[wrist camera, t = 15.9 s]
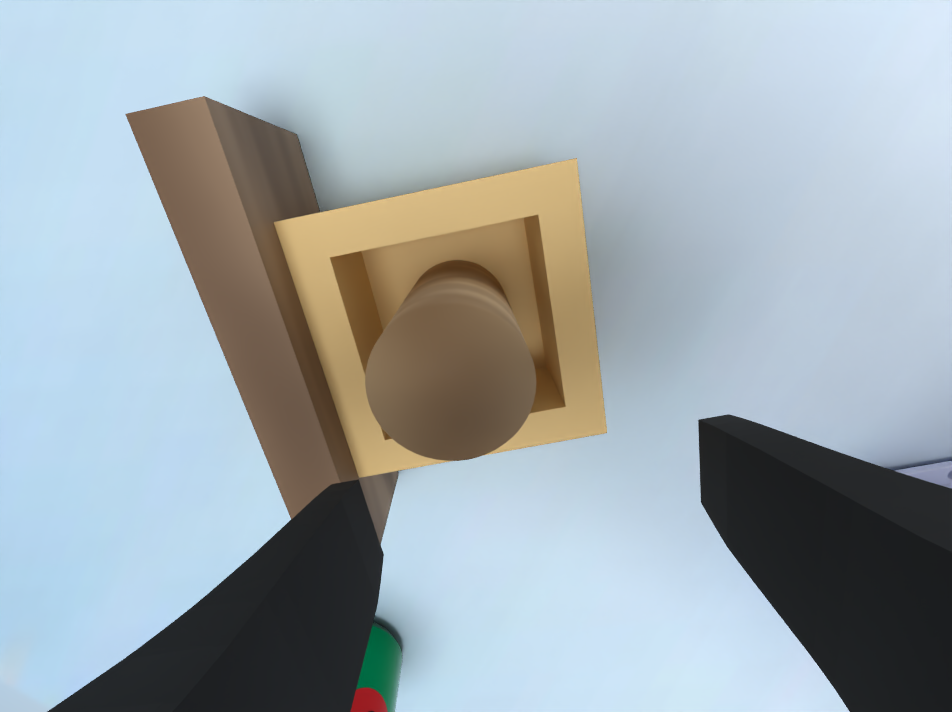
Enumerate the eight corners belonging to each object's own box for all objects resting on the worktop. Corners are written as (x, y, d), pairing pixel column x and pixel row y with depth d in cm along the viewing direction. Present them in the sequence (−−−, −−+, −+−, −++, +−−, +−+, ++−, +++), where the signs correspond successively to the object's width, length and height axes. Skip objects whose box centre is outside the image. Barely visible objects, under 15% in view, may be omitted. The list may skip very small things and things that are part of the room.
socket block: (549, 170, 17) (576, 157, 12) (576, 383, 20) (607, 432, 15) (321, 217, 17) (273, 222, 13) (382, 419, 20) (359, 477, 16)
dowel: (497, 250, 17) (522, 286, 9) (514, 346, 18) (547, 445, 11) (397, 270, 17) (343, 321, 10) (421, 364, 19) (389, 473, 11)
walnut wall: (296, 134, 16) (204, 96, 10) (398, 474, 21) (372, 574, 15) (245, 145, 16) (125, 113, 11) (358, 482, 21) (317, 584, 15)
